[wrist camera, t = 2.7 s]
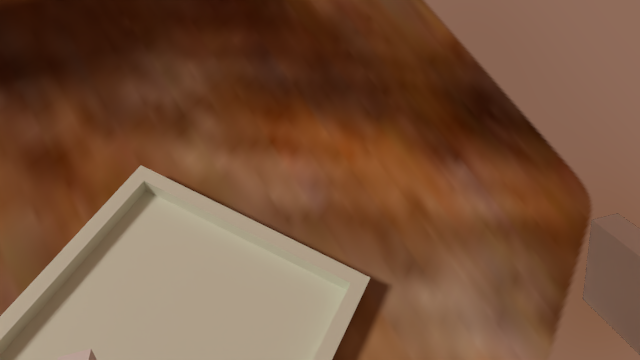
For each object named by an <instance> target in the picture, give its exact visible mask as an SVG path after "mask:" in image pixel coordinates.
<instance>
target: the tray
mask: <svg viewBox="0 0 640 360" xmlns="http://www.w3.org/2000/svg"><path fill="white" fill-rule="evenodd" d="M369 280H370V277H368V276H366V275H364V274H362V273H360V272H358V271H356V270H354V269H352V268H350V267H348V266H346V265H344V264H342V263H340V262H338V261H335V260H333V259H331V258H329V257H327V256H325V255H323V254H321V253H319V252H317V251H315V250H313V249H311V248H309V247H307V246H305V245H303V244H301V243H299V242H297V241H295V240H293V239H291V238H289V237H286V236H284V235H282V234H280V233H278V232H276V231H274V230H272V229H270V228H268V227H266V226H264V225H262V224H260V223H258V222H256V221H254V220H252V219H250V218H248V217H246V216H244V215H242V214H239V213H237V212H235V211H233V210H231V209H229V208H227V207H225V206H223V205H221V204H219V203H217V202H215V201H213V200H211V199H209V198H207V197H205V196H203V195H201V194H199V193H197V192H195V191H192V190H190V189H188V188H186V187H184V186H182V185H180V184H178V183H176V182H174V181H172V180H170V179H168V178H166V177H164V176H162V175H160V174H158V173H156V172H154V171H152V170H150V169H148V168H145V167H143V166H140V167H139V168H138V169H137V170H136V171H135V172H134V173H133V174H132V175H131V176H130V177H129V179H128V180H127V181H126V182H125V183H124V184H123V185H122V186H121V187H120V188H119V189H118V190H117V191H116V193H115V194H114V195H113V196H112V197H111V198H110V199H109V200H108V201H107V202H106V203H105V204H104V205H103V207H102V208H101V209H100V210H99V211H98V212H97V213H96V214H95V215H94V216H93V217H92V218H91V219H90V221H89V222H88V223H87V224H86V225H85V226H84V227H83V228H82V229H81V230H80V231H79V232H78V233H77V235H76V236H75V237H74V238H73V239H72V240H71V241H70V242H69V243H68V244H67V245H66V246H65V247H64V249H63V250H62V251H61V252H60V253H59V254H58V255H57V256H56V257H55V258H54V259H53V260H52V261H51V263H50V264H49V265H48V266H47V267H46V268H45V269H44V270H43V271H42V272H41V273H40V274H39V275H38V277H37V278H36V279H35V280H34V281H33V282H32V283H31V284H30V285H29V286H28V287H27V288H26V289H25V291H24V292H23V293H22V294H21V295H20V296H19V297H18V298H17V299H16V300H15V301H14V302H13V303H12V305H11V306H10V307H9V308H8V309H7V310H6V311H5V312H4V313H3V314H2V315H1V316H0V360H57V359H58V357H60V356H64V355H68V354H72V353H76V352H80V351H84V350H88V349H92V351H93V353H94V355H95V357H96V359H97V360H332V359H333V357H334V355H335V353H336V350H337V348H338V346H339V344H340V342H341V340H342V338H343V336H344V333H345V331H346V329H347V327H348V325H349V323H350V321H351V318H352V316H353V314H354V312H355V310H356V308H357V306H358V303H359V301H360V299H361V297H362V295H363V293H364V291H365V289H366V286H367V284H368V282H369Z"/></svg>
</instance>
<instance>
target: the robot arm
mask: <svg viewBox="0 0 640 360" xmlns="http://www.w3.org/2000/svg"><path fill="white" fill-rule="evenodd" d="M589 241H590V242H589V249H588V258H587V267H586V276H585V285H584V294H583V300H585V301H586V302H587V303H588V304H589V305H590V306H591V307H592V308H593V309H594V310H595V311H596V312H597V313H598V314H599V315H600V316H601V317H602V318H603V319H604V320H605V321H606V322H607V323H608V324H609V325H610V326H611V327H612V328H613V329H614V330H615V331H616V332H617V333H618V334H619V335H620V336H621V337H622V338H623V339H624V340H625V341H626V342H627V343H628V344H629V345H630V346H631V347H632V348H633V349H634V350H635V351H636V352H637V353H638V354H639V355H640V228H638V227H637V226H635V225H634V224H633V223H631V222H630V221H628V220H627V219H625V218H624V217H622V216H621V215H620V214H618V213H617V214H613V215H609V216H605V217H601V218H597V219H593V220H592V223H591V232H590V240H589ZM57 360H97V359H96V357H95V355H94V353H93V351H92V349H88V350H84V351H80V352H76V353H72V354H68V355H64V356H60V357H58V359H57Z"/></svg>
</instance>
